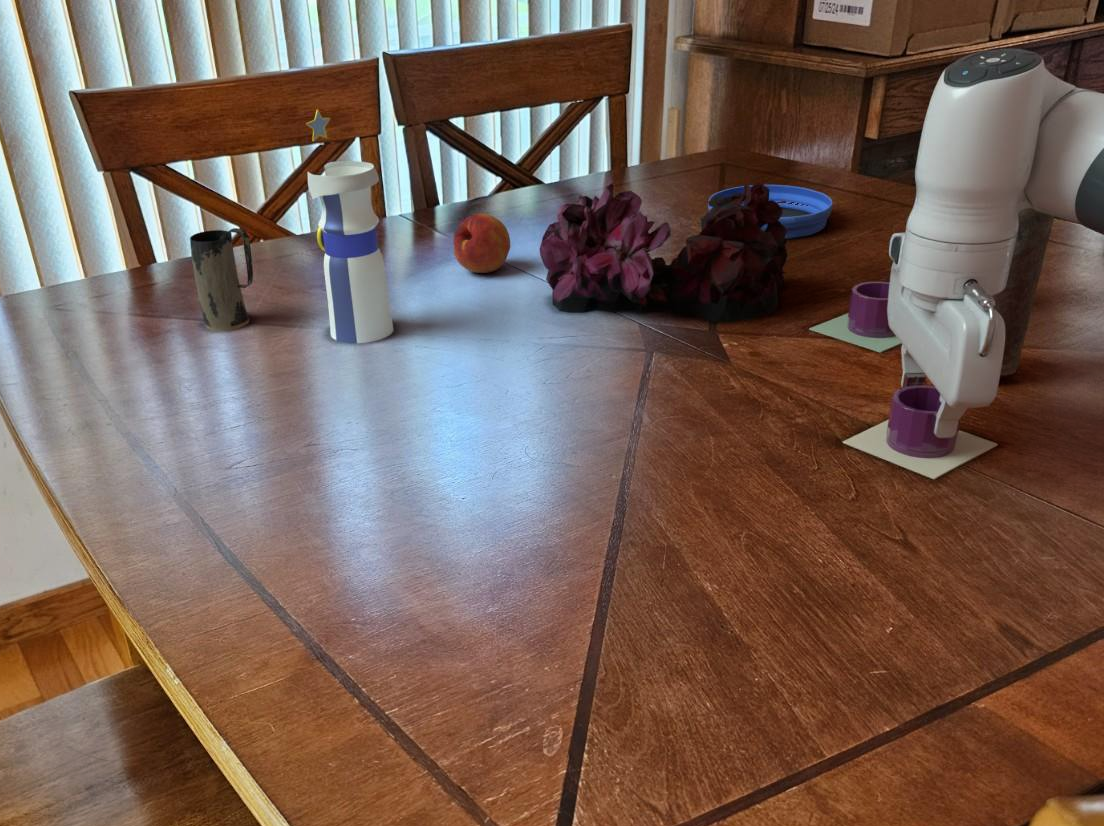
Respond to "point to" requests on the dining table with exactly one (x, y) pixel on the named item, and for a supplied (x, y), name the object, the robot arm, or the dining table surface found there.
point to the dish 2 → (917, 423)
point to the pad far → (854, 335)
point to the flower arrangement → (649, 284)
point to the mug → (220, 278)
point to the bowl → (794, 208)
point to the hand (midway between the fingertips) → (926, 411)
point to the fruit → (481, 243)
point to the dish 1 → (869, 310)
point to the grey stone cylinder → (1022, 283)
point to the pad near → (930, 467)
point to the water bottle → (350, 248)
